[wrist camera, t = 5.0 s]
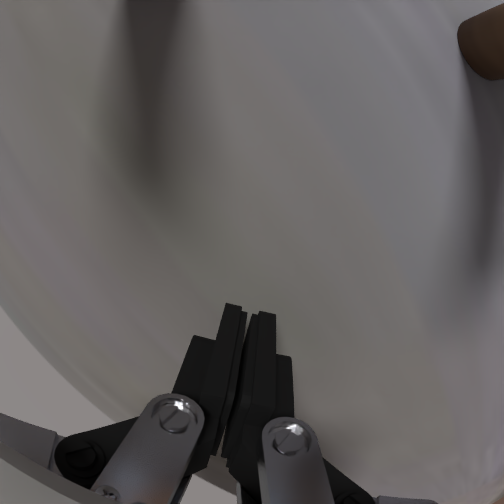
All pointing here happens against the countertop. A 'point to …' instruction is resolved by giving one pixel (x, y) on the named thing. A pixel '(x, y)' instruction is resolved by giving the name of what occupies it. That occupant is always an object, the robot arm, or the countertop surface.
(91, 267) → the countertop surface
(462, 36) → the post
